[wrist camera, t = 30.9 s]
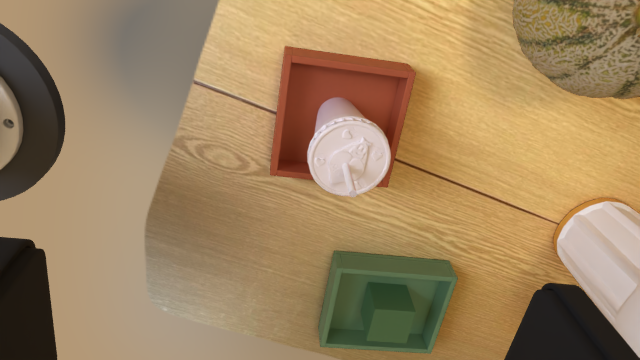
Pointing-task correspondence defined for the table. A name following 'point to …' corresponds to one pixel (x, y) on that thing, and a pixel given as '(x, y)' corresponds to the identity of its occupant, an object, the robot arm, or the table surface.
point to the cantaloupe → (583, 44)
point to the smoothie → (347, 150)
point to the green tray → (417, 273)
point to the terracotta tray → (330, 82)
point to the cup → (605, 260)
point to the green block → (387, 312)
